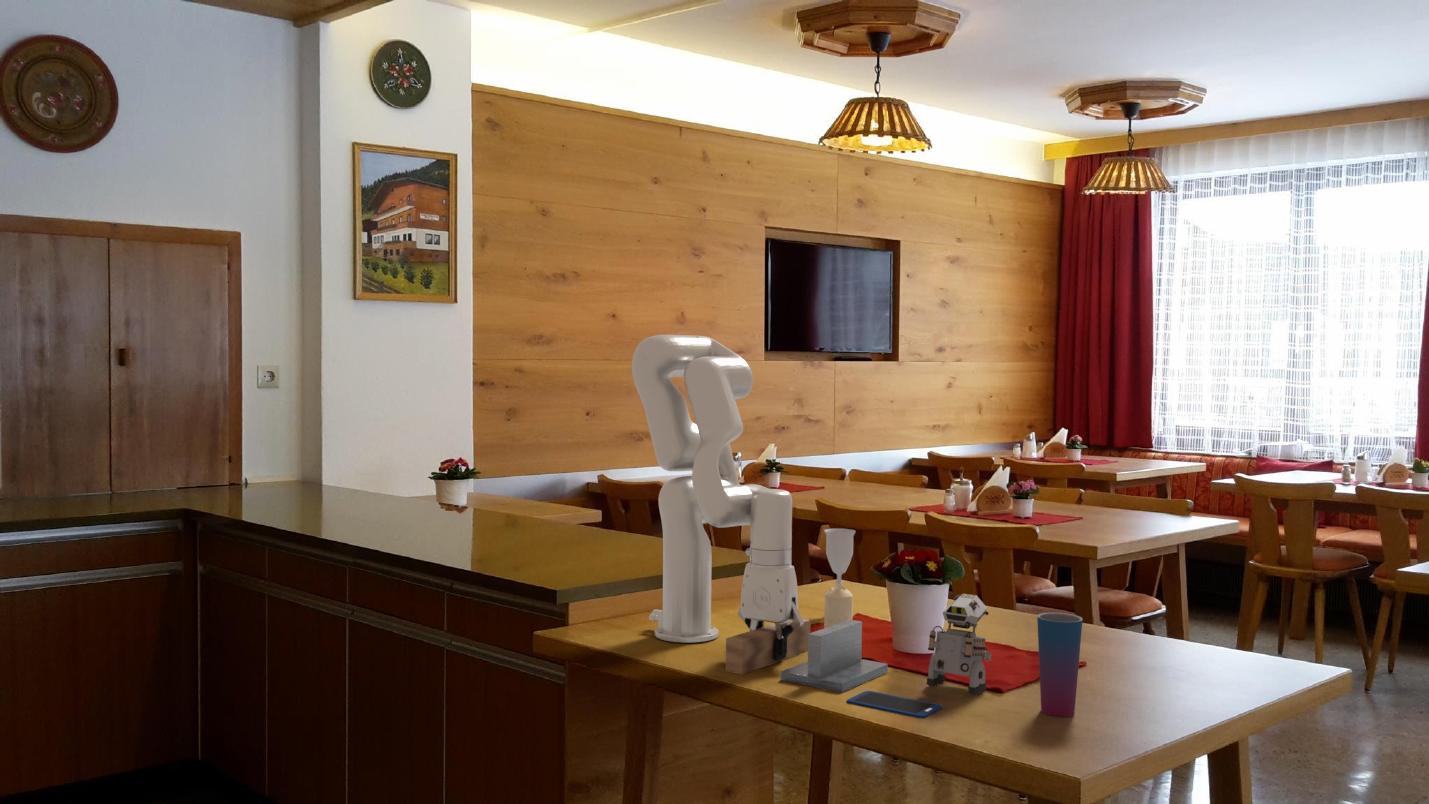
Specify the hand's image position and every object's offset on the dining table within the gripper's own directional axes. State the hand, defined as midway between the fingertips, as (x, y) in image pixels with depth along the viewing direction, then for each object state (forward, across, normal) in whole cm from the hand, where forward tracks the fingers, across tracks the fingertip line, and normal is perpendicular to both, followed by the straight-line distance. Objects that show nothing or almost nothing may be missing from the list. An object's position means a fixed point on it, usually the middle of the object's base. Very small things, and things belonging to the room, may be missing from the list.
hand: (769, 656), depth 213 cm
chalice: (+1, -10, +42) cm, 43 cm away
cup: (+1, +53, +2) cm, 53 cm away
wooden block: (+1, 0, 0) cm, 1 cm away
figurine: (+1, +35, +6) cm, 36 cm away
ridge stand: (+1, +15, -2) cm, 15 cm away
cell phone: (+1, +31, -11) cm, 33 cm away
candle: (+1, +1, +23) cm, 23 cm away
